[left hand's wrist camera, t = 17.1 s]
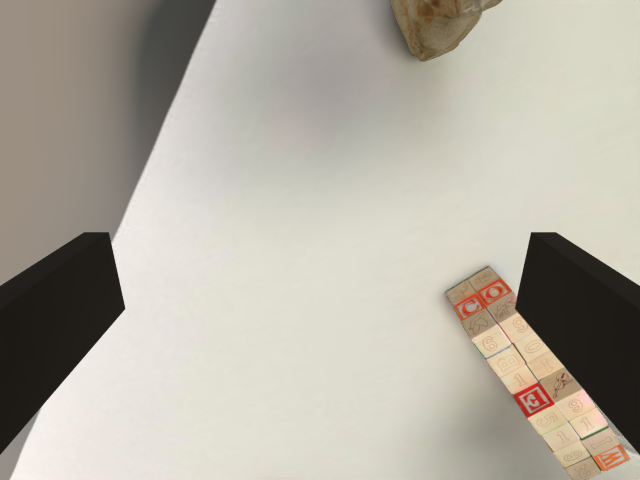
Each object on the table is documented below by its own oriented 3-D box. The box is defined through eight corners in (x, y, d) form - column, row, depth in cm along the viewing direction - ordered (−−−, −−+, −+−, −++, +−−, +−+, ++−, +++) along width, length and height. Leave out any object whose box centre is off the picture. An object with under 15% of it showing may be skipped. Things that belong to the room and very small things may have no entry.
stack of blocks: (442, 292, 47) (481, 358, 36) (489, 264, 46) (545, 324, 35) (522, 401, 54) (576, 487, 42) (564, 379, 52) (633, 462, 41)
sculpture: (441, -38, 35) (522, -118, 21) (458, 47, 37) (540, 27, 23) (377, -12, 35) (415, -73, 22) (399, 69, 38) (444, 63, 24)
